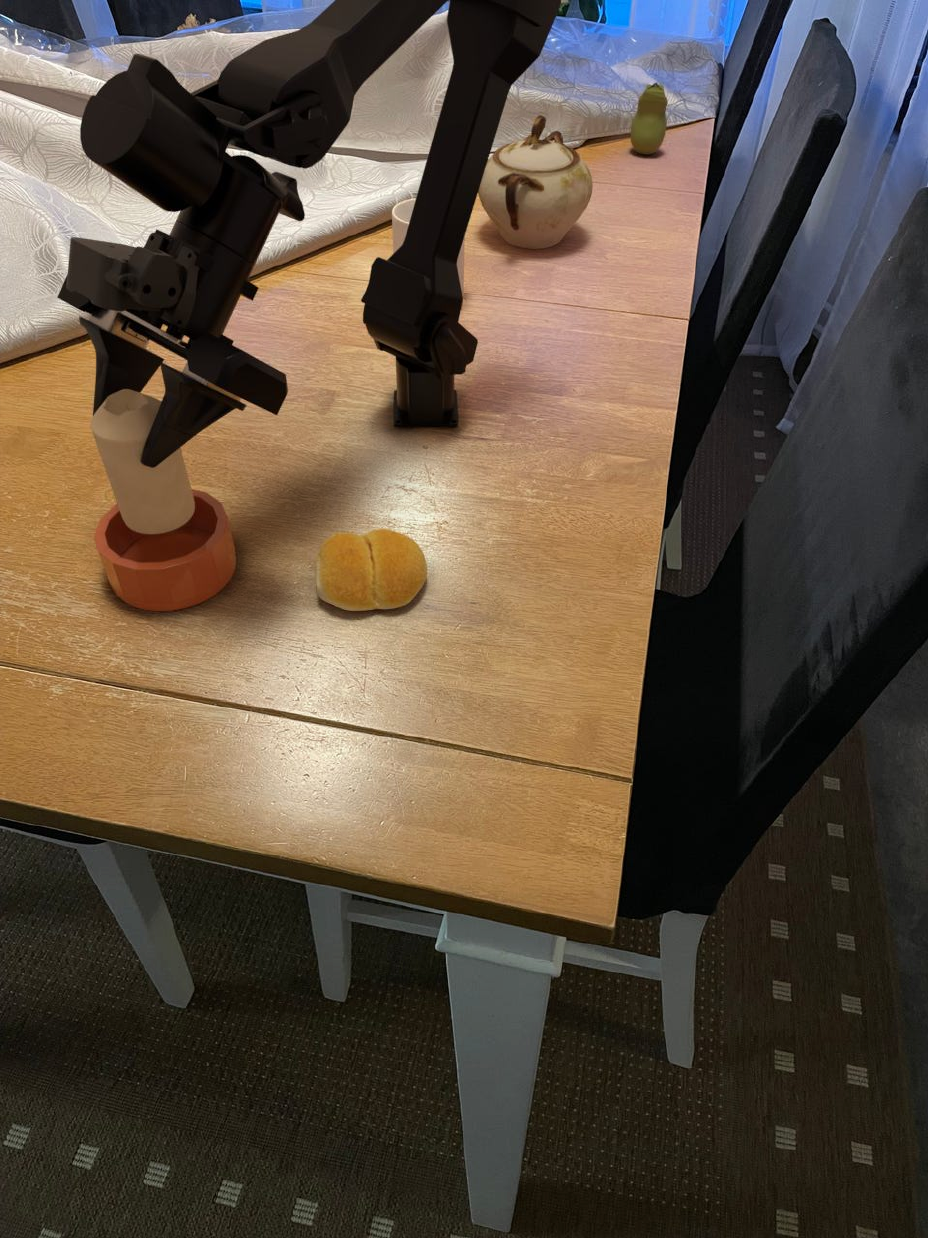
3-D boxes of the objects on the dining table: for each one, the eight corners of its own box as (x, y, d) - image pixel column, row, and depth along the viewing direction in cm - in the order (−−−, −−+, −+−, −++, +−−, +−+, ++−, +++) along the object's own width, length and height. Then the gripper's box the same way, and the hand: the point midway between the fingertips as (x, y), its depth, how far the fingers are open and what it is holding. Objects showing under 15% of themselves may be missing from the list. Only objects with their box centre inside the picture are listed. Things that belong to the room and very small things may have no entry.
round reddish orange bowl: (227, 610, 69) (216, 568, 65) (97, 612, 68) (80, 570, 65) (243, 528, 76) (234, 486, 72) (125, 529, 75) (111, 487, 72)
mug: (433, 334, 100) (433, 244, 92) (369, 319, 102) (363, 230, 95) (473, 291, 108) (476, 204, 100) (412, 278, 110) (410, 192, 102)
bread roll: (433, 610, 69) (433, 573, 66) (319, 621, 68) (313, 584, 65) (420, 541, 75) (419, 505, 72) (314, 551, 74) (309, 514, 71)
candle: (207, 517, 68) (179, 404, 60) (139, 545, 65) (101, 431, 58) (177, 481, 71) (147, 370, 63) (111, 507, 68) (72, 394, 61)
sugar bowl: (560, 275, 111) (573, 148, 100) (452, 254, 115) (453, 128, 104) (604, 219, 124) (619, 101, 113) (505, 201, 128) (511, 85, 117)
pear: (662, 149, 145) (674, 80, 138) (661, 160, 141) (673, 90, 134) (628, 146, 146) (638, 77, 138) (626, 157, 142) (636, 87, 135)
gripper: (37, 145, 57) (-55, 363, 59) (221, 224, 49) (107, 474, 51) (165, 229, 67) (82, 414, 69) (335, 307, 59) (236, 513, 61)
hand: (121, 449), depth 63 cm, fingers closed on candle, 5 cm apart
